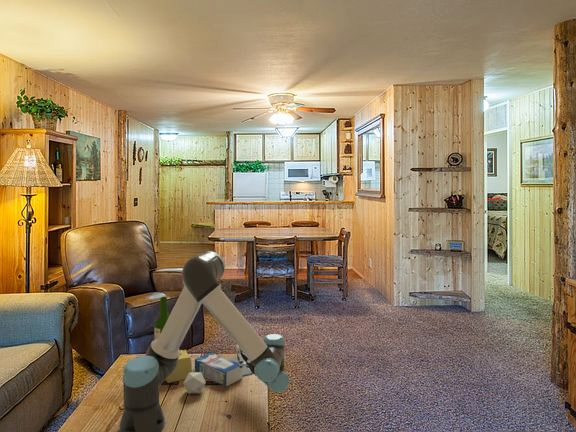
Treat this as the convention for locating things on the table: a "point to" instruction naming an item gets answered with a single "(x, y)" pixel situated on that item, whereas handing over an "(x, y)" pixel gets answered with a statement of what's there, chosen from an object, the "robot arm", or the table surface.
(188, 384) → the die
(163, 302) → the wine bottle
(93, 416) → the table surface
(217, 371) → the milk carton
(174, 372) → the cheese
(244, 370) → the slate mat
